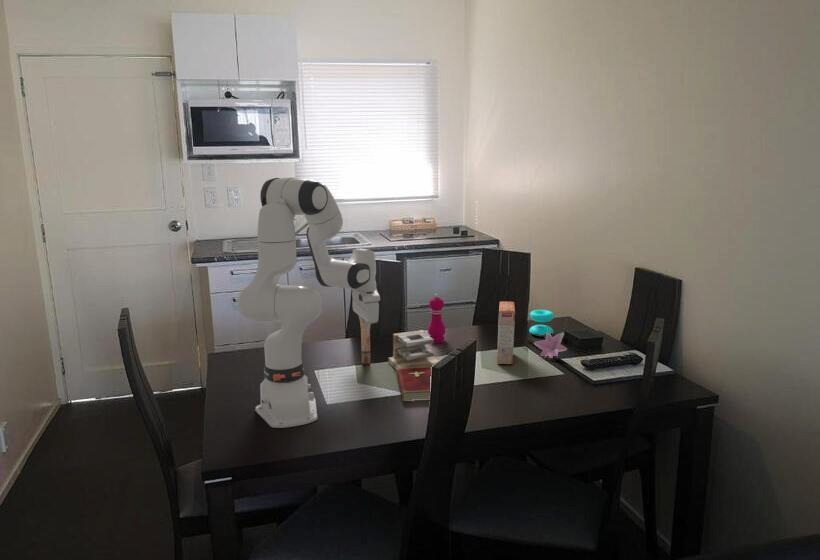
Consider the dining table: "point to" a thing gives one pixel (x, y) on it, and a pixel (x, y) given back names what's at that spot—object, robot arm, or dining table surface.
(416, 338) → the collar stand
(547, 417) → the dining table surface
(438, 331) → the pepper mill
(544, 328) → the donuts
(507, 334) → the cracker box
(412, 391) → the hardcover book
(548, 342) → the lily
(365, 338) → the copper tube
